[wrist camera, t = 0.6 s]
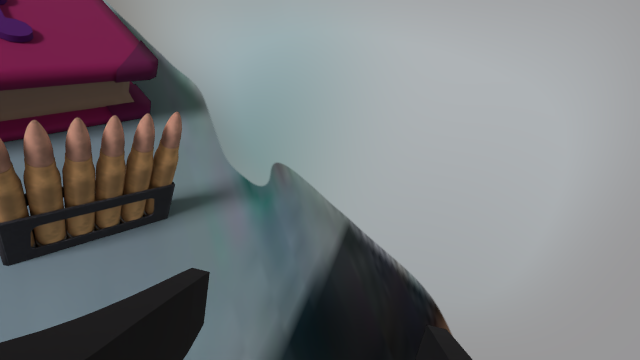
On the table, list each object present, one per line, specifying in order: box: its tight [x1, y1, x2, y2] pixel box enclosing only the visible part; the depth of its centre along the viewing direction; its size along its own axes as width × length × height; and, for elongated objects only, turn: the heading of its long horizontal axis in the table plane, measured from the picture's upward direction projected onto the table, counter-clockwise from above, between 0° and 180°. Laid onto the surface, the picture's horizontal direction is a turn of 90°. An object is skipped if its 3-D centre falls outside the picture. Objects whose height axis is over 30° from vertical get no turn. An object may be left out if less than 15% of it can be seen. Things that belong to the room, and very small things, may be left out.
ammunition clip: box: [0, 112, 182, 266], centre depth 21 cm, size 11×2×12 cm, turn 130°
